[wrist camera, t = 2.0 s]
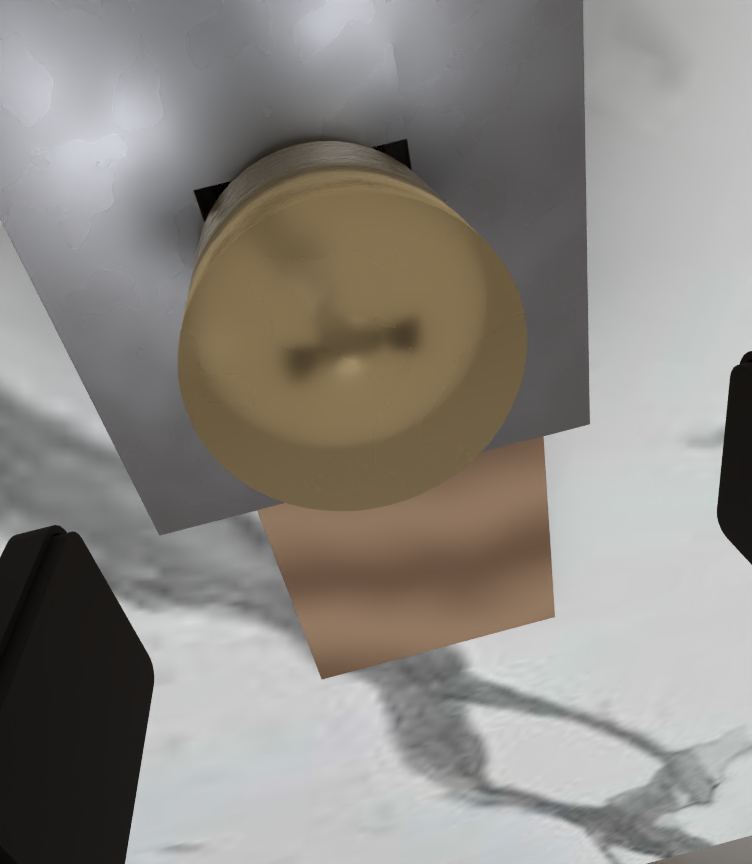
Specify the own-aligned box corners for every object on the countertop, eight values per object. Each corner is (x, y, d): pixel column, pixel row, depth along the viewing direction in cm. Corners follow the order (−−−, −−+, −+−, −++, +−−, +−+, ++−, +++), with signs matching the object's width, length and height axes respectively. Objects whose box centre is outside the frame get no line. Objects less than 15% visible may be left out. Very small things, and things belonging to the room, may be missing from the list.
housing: (-32, 15, 17) (-102, 16, 13) (514, -110, 17) (580, -140, 14) (171, 462, 24) (159, 535, 21) (542, 368, 25) (589, 424, 21)
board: (250, 477, 25) (251, 494, 24) (532, 405, 25) (542, 418, 25) (319, 661, 31) (321, 679, 30) (546, 600, 32) (554, 616, 31)
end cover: (174, 141, 19) (116, 245, 10) (395, 88, 19) (514, 149, 11) (242, 343, 22) (241, 543, 14) (428, 297, 22) (536, 467, 14)
